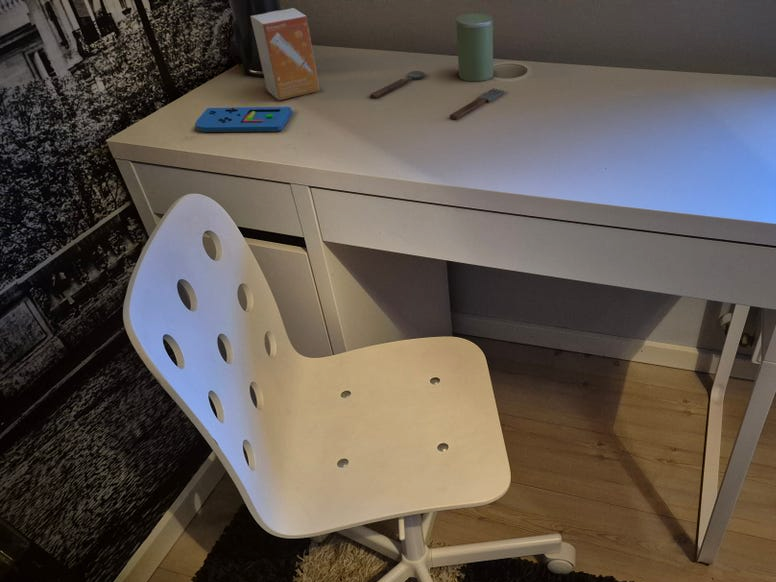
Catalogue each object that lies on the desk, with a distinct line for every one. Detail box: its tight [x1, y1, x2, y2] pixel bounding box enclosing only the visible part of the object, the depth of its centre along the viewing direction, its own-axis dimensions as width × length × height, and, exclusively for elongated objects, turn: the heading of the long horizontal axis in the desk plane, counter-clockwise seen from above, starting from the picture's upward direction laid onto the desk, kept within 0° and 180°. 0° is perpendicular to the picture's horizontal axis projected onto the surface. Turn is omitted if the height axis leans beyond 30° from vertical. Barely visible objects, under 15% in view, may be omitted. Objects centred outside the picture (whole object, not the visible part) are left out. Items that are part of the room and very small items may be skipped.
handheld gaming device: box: [194, 106, 293, 133], centre depth 113 cm, size 8×1×15 cm
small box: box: [250, 7, 320, 101], centre depth 119 cm, size 8×6×13 cm
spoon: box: [369, 70, 425, 100], centre depth 124 cm, size 14×3×1 cm, turn 146°
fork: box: [449, 87, 505, 121], centre depth 116 cm, size 14×2×1 cm, turn 146°
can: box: [455, 12, 494, 82], centre depth 124 cm, size 7×7×10 cm
